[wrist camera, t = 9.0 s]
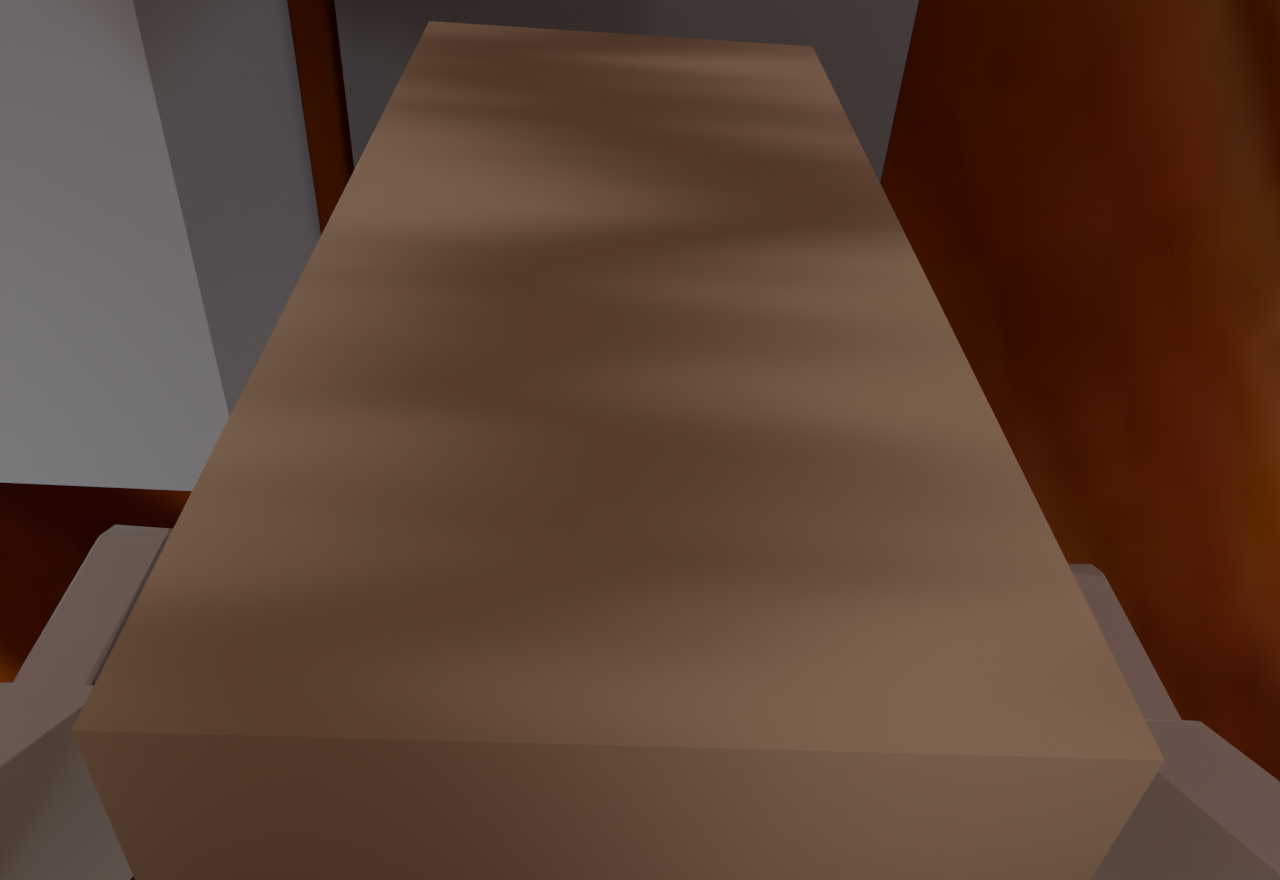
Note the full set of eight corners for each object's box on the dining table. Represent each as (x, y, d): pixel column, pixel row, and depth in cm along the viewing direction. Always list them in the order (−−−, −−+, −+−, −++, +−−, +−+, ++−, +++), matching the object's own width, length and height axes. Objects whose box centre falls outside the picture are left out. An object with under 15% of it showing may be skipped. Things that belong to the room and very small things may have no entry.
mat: (950, -197, 16) (960, -194, 16) (839, 337, 23) (843, 351, 22) (316, -242, 16) (306, -238, 16) (378, 312, 22) (372, 327, 22)
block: (812, 45, 14) (1165, 761, 5) (759, 364, 17) (918, 1155, 8) (429, 21, 13) (71, 731, 5) (446, 349, 16) (251, 1152, 8)
